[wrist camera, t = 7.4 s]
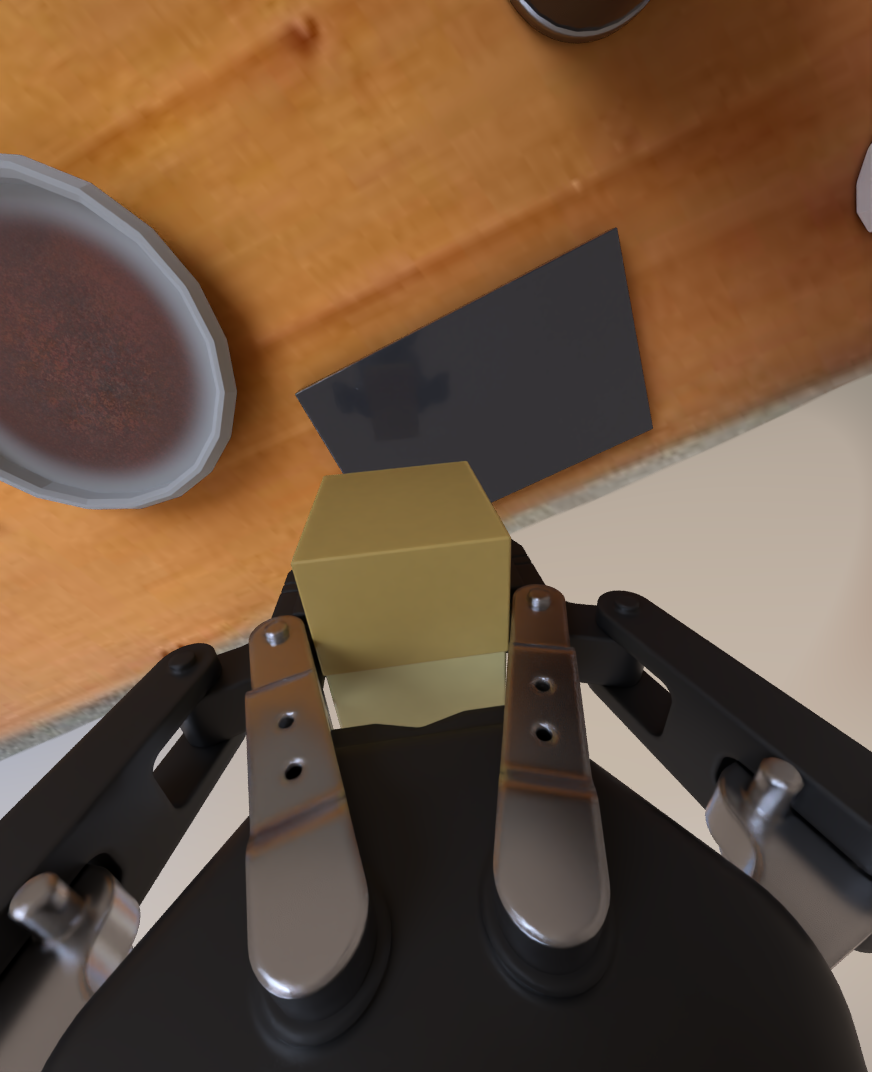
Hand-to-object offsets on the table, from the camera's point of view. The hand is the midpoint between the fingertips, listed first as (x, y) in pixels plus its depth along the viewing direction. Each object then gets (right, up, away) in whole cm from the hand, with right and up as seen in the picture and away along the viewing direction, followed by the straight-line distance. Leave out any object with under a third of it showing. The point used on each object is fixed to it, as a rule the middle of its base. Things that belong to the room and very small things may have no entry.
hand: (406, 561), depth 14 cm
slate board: (+4, +9, +13) cm, 16 cm away
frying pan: (-24, +9, +10) cm, 27 cm away
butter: (0, 0, 0) cm, 0 cm away
